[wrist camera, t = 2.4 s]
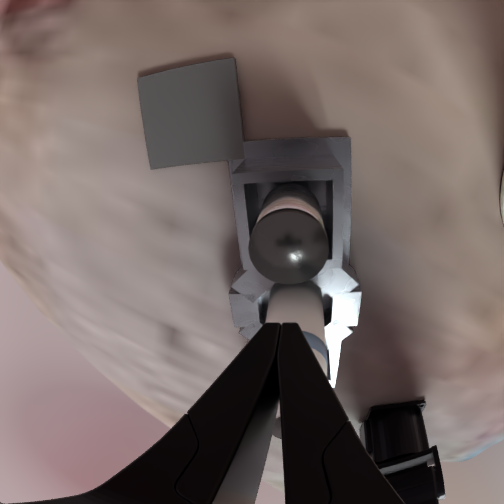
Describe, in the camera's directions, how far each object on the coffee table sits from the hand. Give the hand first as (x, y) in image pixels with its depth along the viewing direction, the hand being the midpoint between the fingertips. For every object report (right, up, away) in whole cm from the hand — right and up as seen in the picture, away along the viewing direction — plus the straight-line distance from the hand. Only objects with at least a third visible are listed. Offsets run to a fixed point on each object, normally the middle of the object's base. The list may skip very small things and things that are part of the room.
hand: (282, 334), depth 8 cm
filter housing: (+2, -1, +13) cm, 13 cm away
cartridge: (+2, -1, +13) cm, 13 cm away
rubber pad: (-4, +10, +9) cm, 14 cm away
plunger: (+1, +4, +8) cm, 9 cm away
